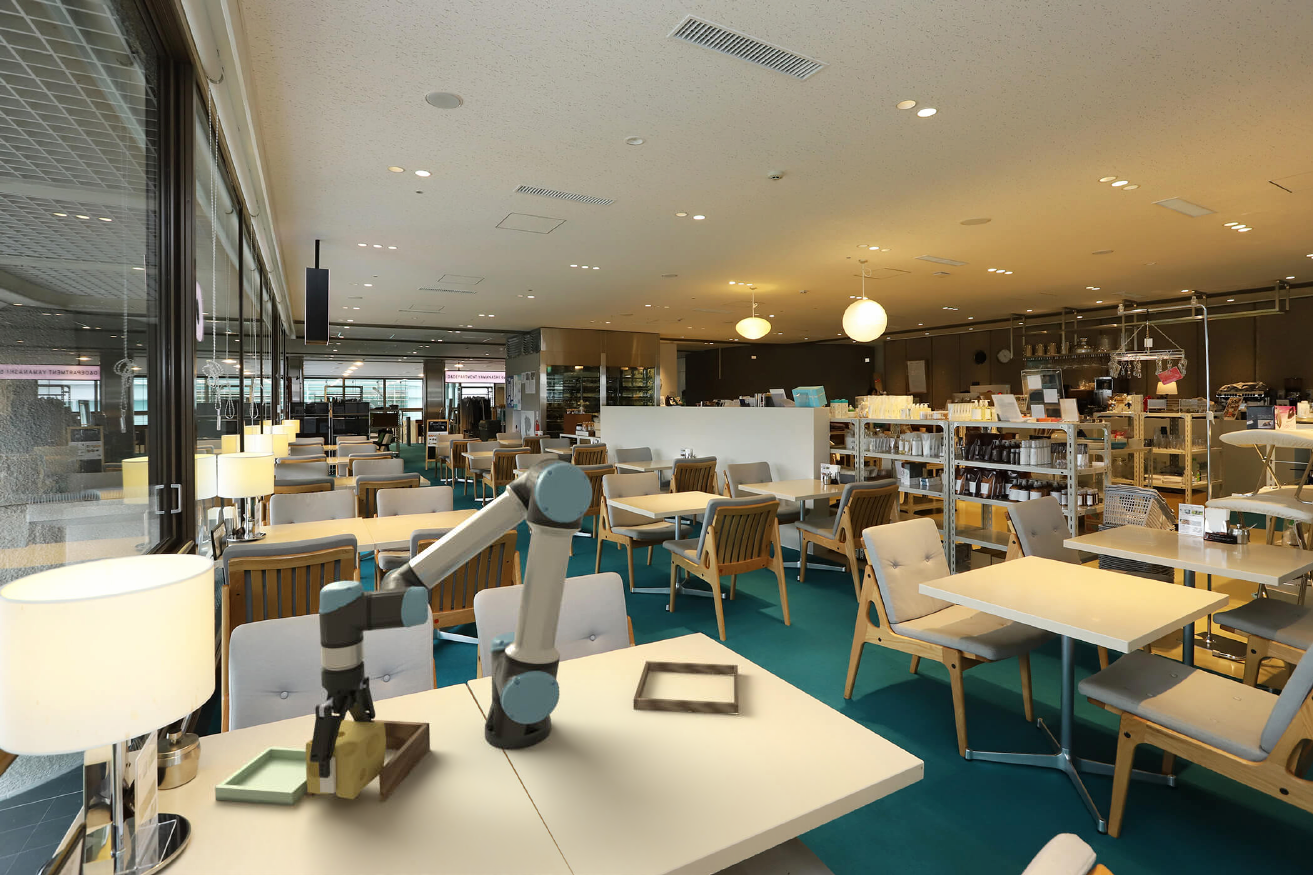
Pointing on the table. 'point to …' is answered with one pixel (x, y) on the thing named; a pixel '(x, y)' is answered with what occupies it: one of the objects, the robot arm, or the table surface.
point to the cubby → (401, 753)
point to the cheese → (352, 758)
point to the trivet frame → (686, 704)
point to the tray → (268, 778)
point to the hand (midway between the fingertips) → (345, 774)
